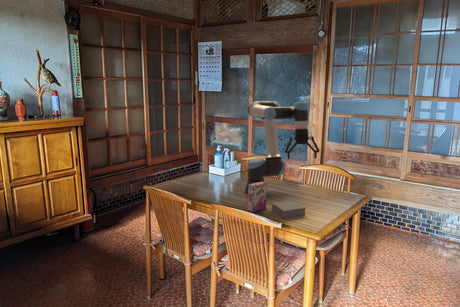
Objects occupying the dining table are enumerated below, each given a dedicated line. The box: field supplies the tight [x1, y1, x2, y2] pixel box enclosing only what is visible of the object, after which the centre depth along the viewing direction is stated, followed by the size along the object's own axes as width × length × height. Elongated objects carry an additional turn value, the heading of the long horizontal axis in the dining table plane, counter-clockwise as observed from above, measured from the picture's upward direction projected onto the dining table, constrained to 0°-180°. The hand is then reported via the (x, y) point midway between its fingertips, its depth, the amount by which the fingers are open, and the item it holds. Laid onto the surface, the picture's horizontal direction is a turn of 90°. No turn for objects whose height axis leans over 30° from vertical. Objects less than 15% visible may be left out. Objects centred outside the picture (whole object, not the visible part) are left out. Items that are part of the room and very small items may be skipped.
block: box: [271, 200, 306, 219], centre depth 206 cm, size 14×14×5 cm
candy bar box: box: [247, 181, 268, 213], centre depth 210 cm, size 11×5×16 cm, turn 129°
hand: (302, 164), depth 208 cm, fingers open, 13 cm apart
